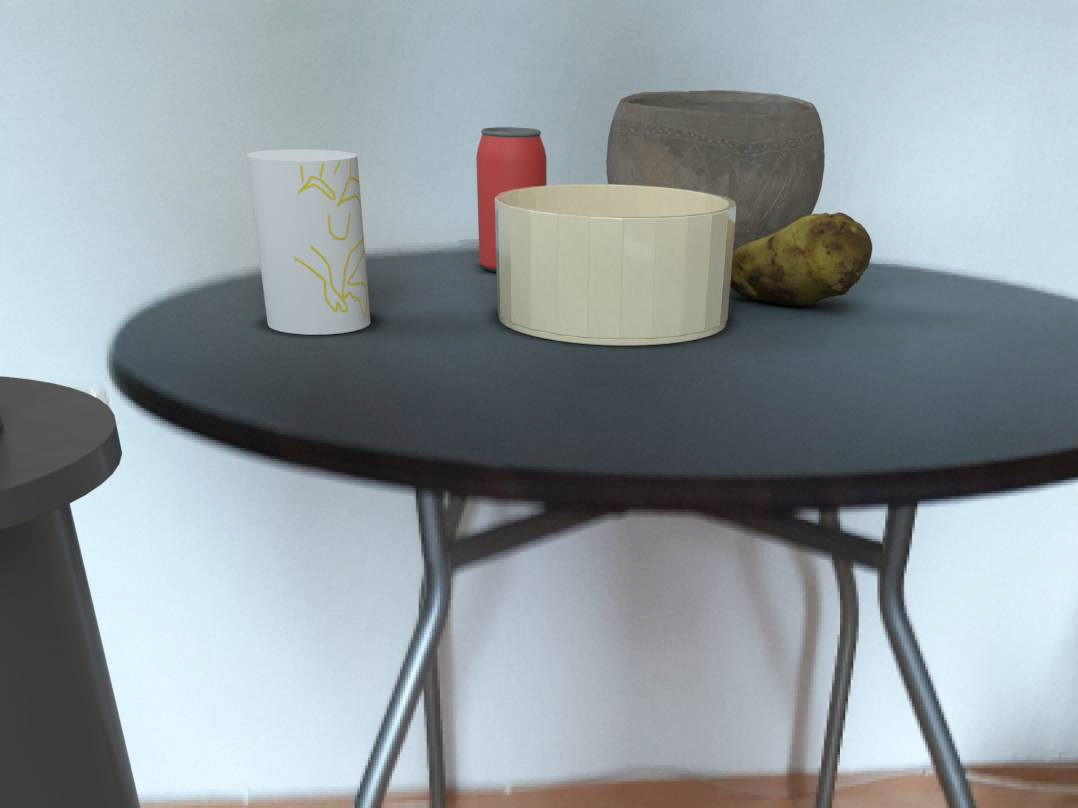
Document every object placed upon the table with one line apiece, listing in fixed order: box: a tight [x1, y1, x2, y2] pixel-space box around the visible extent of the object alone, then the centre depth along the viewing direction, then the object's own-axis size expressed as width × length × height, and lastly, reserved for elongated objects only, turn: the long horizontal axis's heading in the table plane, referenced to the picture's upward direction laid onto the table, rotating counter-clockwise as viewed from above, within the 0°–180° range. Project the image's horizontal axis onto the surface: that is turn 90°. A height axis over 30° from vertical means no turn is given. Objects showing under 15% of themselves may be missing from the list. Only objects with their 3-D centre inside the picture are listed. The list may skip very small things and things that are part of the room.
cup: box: [246, 148, 371, 336], centre depth 93 cm, size 8×8×12 cm
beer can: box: [475, 126, 548, 274], centre depth 114 cm, size 7×7×12 cm
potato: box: [730, 211, 873, 307], centre depth 103 cm, size 8×13×8 cm, turn 31°
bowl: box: [605, 89, 826, 252], centre depth 116 cm, size 21×21×15 cm
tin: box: [495, 183, 736, 347], centre depth 98 cm, size 19×19×9 cm
